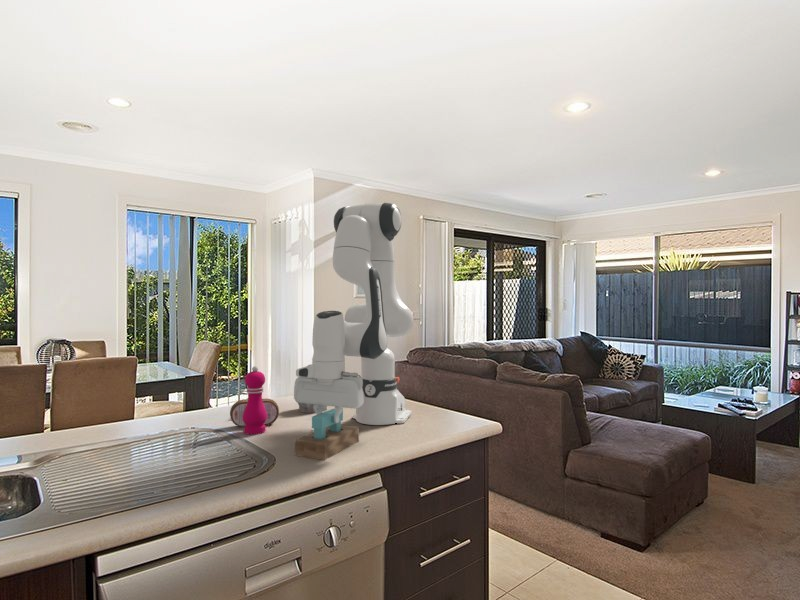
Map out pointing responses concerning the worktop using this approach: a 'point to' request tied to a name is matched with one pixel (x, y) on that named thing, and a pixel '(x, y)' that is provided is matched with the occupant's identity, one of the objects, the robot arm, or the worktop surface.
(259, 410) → the pepper mill
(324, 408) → the coffee mug
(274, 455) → the worktop surface
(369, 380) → the robot arm
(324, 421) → the clip
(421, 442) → the worktop surface
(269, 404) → the tin
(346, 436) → the slotted wooden block
